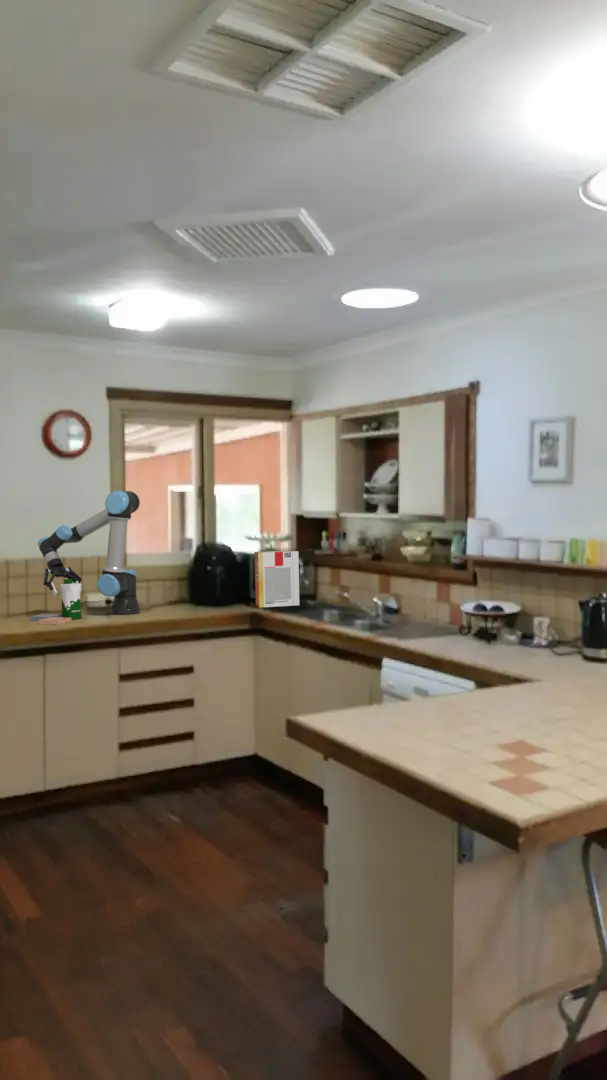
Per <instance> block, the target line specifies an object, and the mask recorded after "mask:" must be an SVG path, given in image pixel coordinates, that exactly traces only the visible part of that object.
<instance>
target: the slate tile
mask: <svg viewBox="0 0 607 1080" xmlns="http://www.w3.org/2000/svg"><path fill="white" fill-rule="evenodd" d="M50 617H62V613H61V614H57V613H41V614H36V615H32V616H30V617H29V618H30V619H29V620H30V621H31V622H32V621H34V622H39V620H41V619H45V618H50Z"/></svg>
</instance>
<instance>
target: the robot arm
mask: <svg viewBox="0 0 607 1080" xmlns="http://www.w3.org/2000/svg"><path fill="white" fill-rule="evenodd" d="M140 504H141V501H140V498H139V495H137V494H136V493H135V492H134V491H130V490H116V491H112V492H111V493H109V494H108V495H107V496H106V498H105V501H104V505H105V509H103V510H101V511H99V512H98V513H96V514H94V515H93V516H91V517H89V518H86V520H83V521H82V522H79V523H78V524H76V525H75V526H72V527H71V528H70V527H69V526H68V525H65V524H62V525H61V526H59V527H58V528H57V529H56V530H55V531H54V532H53V533H52V534H51V535H50V536H43V537H42V538H39V540H38V541H37V545H38V548H39V551H40V553H41V554H42V557H43V560H44V562H45V563H46V565H47V567H46V568H45V569H44V579H43V584H42V585H43V586H46V588H48V589H49V590H50V591H51V592H52V595H53V597H56V595H57V593H58V591H57V589H56V587H55V585H54V583H53V580H54V579H55V578H65V579H72V583H79V584H81V582H82V580H83V579H82V577H81V576H80V575H78V573H76V572H75V571H74V570H73V569H72V567H70V566H68V567H67V568H66V567H65V565H64V563H63V561H62V559H61V556H60V555H59V552H58V550H59V549H60V548H61V547H62V546H63V545H64V544H71V543H73V544H75V543H79V542H81V541H83V539H84V538H85V537H87V536H89V535H91V534H93V533H94V532H96V531H98V530H100V529H101V528H103V527H105V526H108V524H109V529H108V530H109V532H108V541H107V552H106V562H105V566H104V567H103V568H102V569H101V570H102V573H101V576H99V578H98V580H97V583H96V584H97V585H96V586H97V588H98V591H99V592H100V594H102V595H103V596H104V597H110V598H111V597H112V598H113V601H112V605H111V609H110V613H112V614H111V615H134V614H139V613H141V607H140V605H139V602H138V601H139V600H138V598H137V573H136V570H135V569H125V568H124V562H125V561H124V560H125V552H126V551H125V550H126V539H127V529H128V522H129V521H130V520H131V519H132V514H133V513H135V512H136V511H137V510H138V509H139V508H140ZM49 574H51V576H50V579H48V578H49ZM48 580H49V581H48ZM82 591H83V590H82V588H81V591H80V595H81V594H82Z"/></svg>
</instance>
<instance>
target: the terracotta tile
mask: <svg viewBox="0 0 607 1080" xmlns="http://www.w3.org/2000/svg"><path fill="white" fill-rule="evenodd" d="M69 621H71V622H72V620H71V617H50V618H45V619H41V620H39V621H38V624H39V625H54V624H59V625H62V624H61V623H63V624H66V623H65V622H67V623H70V622H69Z"/></svg>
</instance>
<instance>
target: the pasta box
mask: <svg viewBox="0 0 607 1080" xmlns="http://www.w3.org/2000/svg"><path fill="white" fill-rule="evenodd" d="M299 563H300V559H299V550H275V551H274V550H271V551H254V578H255V579H254V581H255V582H254V583H255V585H254V586H255V606H256V605H257V606H258V607H257V606H256V607H257V608H259V609H260V608H275V607H291V606H292V607H293V606H300V568H299V567H300V565H299Z"/></svg>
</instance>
